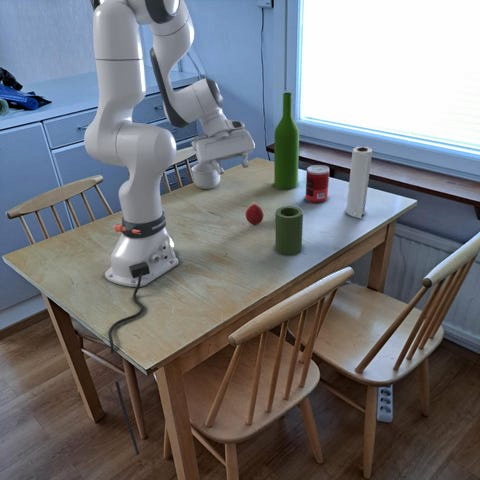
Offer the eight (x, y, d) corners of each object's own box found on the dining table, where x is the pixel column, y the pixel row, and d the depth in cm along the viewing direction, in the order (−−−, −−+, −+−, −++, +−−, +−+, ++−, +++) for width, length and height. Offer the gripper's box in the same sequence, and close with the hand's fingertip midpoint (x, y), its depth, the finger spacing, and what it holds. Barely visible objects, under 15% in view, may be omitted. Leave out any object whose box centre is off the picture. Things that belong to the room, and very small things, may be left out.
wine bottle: (302, 184, 178) (305, 92, 158) (287, 191, 173) (289, 97, 153) (284, 178, 183) (285, 89, 163) (269, 185, 178) (269, 94, 158)
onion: (267, 224, 153) (267, 201, 148) (255, 231, 150) (255, 208, 145) (254, 219, 156) (253, 197, 151) (242, 226, 153) (241, 203, 148)
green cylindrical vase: (296, 257, 136) (297, 219, 128) (271, 252, 139) (271, 215, 131) (305, 245, 141) (307, 208, 134) (281, 240, 144) (281, 204, 137)
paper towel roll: (348, 207, 160) (355, 145, 147) (366, 210, 158) (374, 146, 145) (343, 216, 155) (349, 152, 142) (361, 219, 153) (369, 154, 140)
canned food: (330, 196, 168) (333, 166, 161) (321, 204, 163) (323, 174, 156) (311, 192, 172) (313, 163, 165) (301, 200, 166) (303, 170, 160)
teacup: (217, 192, 176) (215, 171, 171) (189, 191, 178) (187, 170, 173) (225, 178, 187) (224, 158, 182) (199, 177, 189) (197, 158, 184)
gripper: (191, 133, 146) (208, 173, 146) (247, 120, 153) (263, 158, 153) (187, 144, 152) (203, 182, 152) (241, 131, 159) (256, 167, 159)
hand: (233, 170), depth 152 cm, fingers open, 8 cm apart
